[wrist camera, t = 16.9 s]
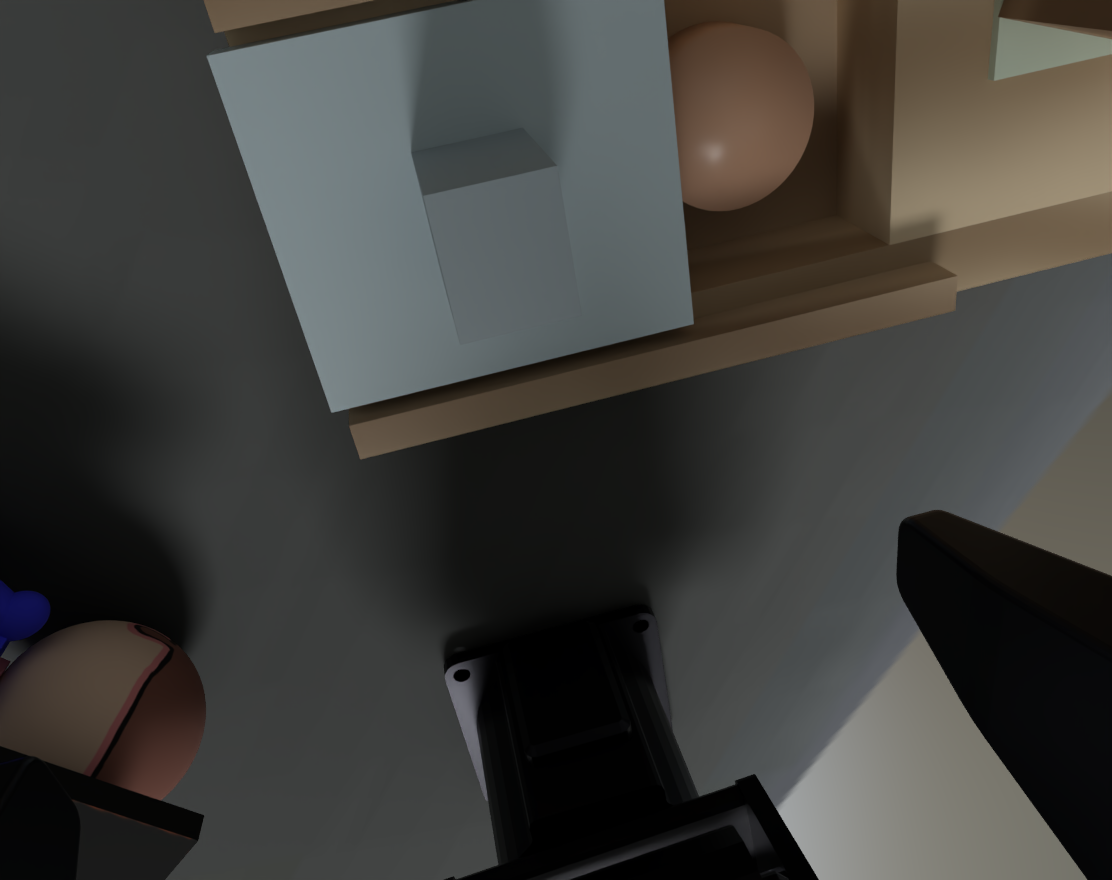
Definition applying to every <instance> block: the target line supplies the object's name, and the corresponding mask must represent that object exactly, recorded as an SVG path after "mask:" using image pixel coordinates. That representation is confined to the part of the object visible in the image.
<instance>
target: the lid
mask: <svg viewBox="0 0 1112 880" xmlns="http://www.w3.org/2000/svg"><path fill="white" fill-rule="evenodd" d="M207 58H208V61H209V64H210V67H211V70H212V73H213V75H214V78H215V81H216V84H217V87H218V90H219V93H220V95H221V98H222V101H223V104H224V107H225V110H226V113H227V115H228V118H229V121H230V124H231V127H232V130H233V133H234V135H235V138H236V141H237V144H238V147H239V150H240V153H241V155H242V158H243V161H244V164H245V167H246V170H247V173H248V175H249V178H250V181H251V184H252V187H253V190H254V192H255V195H256V198H257V201H258V204H259V207H260V210H261V212H262V215H263V218H264V221H265V224H266V227H267V230H268V232H269V235H270V238H271V241H272V244H273V247H274V250H275V252H276V255H277V258H278V261H279V264H280V267H281V270H282V272H283V275H284V278H285V281H286V284H287V287H288V290H289V292H290V295H291V298H292V301H293V304H294V307H295V310H296V312H297V315H298V318H299V321H300V324H301V327H302V330H303V332H304V335H305V338H306V341H307V344H308V347H309V350H310V352H311V355H312V358H313V361H314V364H315V367H316V370H317V372H318V375H319V378H320V381H321V384H322V387H323V390H324V392H325V395H326V398H327V401H328V404H329V407H330V410H331V412H332V413H333V412H337V411H341V410H345V409H349V408H353V407H358V406H362V405H366V404H370V403H374V402H378V401H382V400H386V399H390V398H394V397H398V396H402V395H406V394H411V393H415V392H419V391H423V390H427V389H431V388H435V387H439V386H443V385H447V384H451V383H455V382H460V381H464V380H468V379H472V378H476V377H480V376H484V375H488V374H492V373H496V372H500V371H504V370H508V369H513V368H517V367H521V366H525V365H529V364H533V363H537V362H541V361H545V360H549V359H553V358H557V357H561V356H566V355H570V354H574V353H578V352H582V351H586V350H590V349H594V348H598V347H602V346H606V345H610V344H614V343H619V342H623V341H627V340H631V339H635V338H639V337H643V336H647V335H651V334H655V333H659V332H663V331H668V330H672V329H676V328H680V327H684V326H688V325H692V324H694V320H693V309H692V298H691V287H690V277H689V266H688V255H687V244H686V233H685V223H684V212H683V201H682V190H681V179H680V168H679V158H678V147H677V136H676V125H675V114H674V103H673V93H672V82H671V71H670V60H669V49H668V39H667V28H666V17H665V6H664V0H455V1H450V2H445V3H441V4H436V5H431V6H426V7H421V8H416V9H411V10H407V11H402V12H397V13H392V14H387V15H382V16H378V17H373V18H368V19H363V20H358V21H353V22H348V23H344V24H339V25H334V26H329V27H324V28H319V29H315V30H310V31H305V32H300V33H295V34H290V35H285V36H281V37H276V38H271V39H266V40H261V41H256V42H252V43H247V44H242V45H237V46H232V47H227V48H222V49H218V50H213V51H212V52H211V53H210V54H208V55H207Z"/></svg>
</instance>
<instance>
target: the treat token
mask: <svg viewBox="0 0 1112 880" xmlns="http://www.w3.org/2000/svg"><path fill="white" fill-rule="evenodd" d="M668 49H669V60H670V71H671V82H672V93H673V103H674V114H675V125H676V136H677V147H678V158H679V168H680V179H681V190H682V201H683V202H685V203H687V204H689V205H691V206H694V207H696V208H699V209H704V210H708V211H730V210H735V209H740V208H743V207H746V206H749V205H751V204H753V203H755V202H757V201H759V200H761V199H763V198H764V197H766V196H767V195H769V194H770V193H771V192H773V191H774V190H775V189H776V188H778V187H779V186H780V185H781V184H782V183H783V182H784V181H785V180H786V178H787V177H788V176H789V175H790V174H791V172H792V171H793V170H794V168H795V167H796V165H797V164H798V162H799V160H800V159H801V157H802V155H803V153H804V151H805V148H806V146H807V143H808V140H809V137H810V134H811V130H812V125H813V118H814V95H813V88H812V84H811V79H810V77H809V74H808V71H807V69H806V67H805V65H804V63H803V61H802V59H801V58H800V57H799V55H798V54H797V53H796V51H795V50H794V49H793V48H792V47H791V46H790V45H789V44H788V43H787V42H785V41H784V40H783V39H781V38H780V37H778V36H776V35H774V34H772V33H770V32H768V31H765V30H762V29H758V28H754V27H750V26H745V25H740V24H736V23H731V22H724V21H709V22H703V23H698V24H695V25H692V26H689V27H687V28H685V29H683V30H681V31H678V32H677V33H675V34H674V35H672V36H671V37H669V38H668Z"/></svg>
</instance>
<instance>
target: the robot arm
mask: <svg viewBox="0 0 1112 880" xmlns="http://www.w3.org/2000/svg"><path fill="white" fill-rule="evenodd" d="M896 576H897V585H898V588H899V592H900V594H901V597H902V599H903V601H904V602H905V604H906V606H907V608H908V609H909V611H910V613H911V615H912V616H913V618H914V620H915V622H916V623H917V625H918V627H919V629H920V630H921V632H922V634H923V636H924V637H925V639H926V641H927V642H928V644H929V646H930V648H931V650H932V651H933V653H934V655H935V657H936V658H937V660H938V662H939V664H940V665H941V667H942V669H943V670H944V672H945V674H946V676H947V678H948V679H949V681H950V683H951V685H952V686H953V688H954V690H955V692H956V693H957V695H958V697H959V699H960V700H961V702H962V704H963V705H964V707H965V708H966V710H967V712H968V713H969V715H970V717H971V718H972V720H973V721H974V723H975V724H976V726H977V727H978V729H979V730H980V731H981V733H982V734H983V736H984V737H985V739H986V740H987V742H988V743H989V744H990V746H991V747H992V749H993V750H994V751H995V753H996V754H997V755H998V757H999V758H1000V760H1001V761H1002V762H1003V764H1004V765H1005V766H1006V768H1007V769H1008V770H1009V772H1010V773H1011V775H1012V776H1013V778H1014V779H1015V780H1016V782H1017V783H1018V784H1019V786H1020V787H1021V788H1022V790H1023V791H1024V793H1025V794H1026V795H1027V797H1028V798H1029V800H1030V801H1031V802H1032V804H1033V805H1034V807H1035V808H1036V809H1037V811H1038V812H1039V813H1040V815H1041V816H1042V818H1043V819H1044V820H1045V822H1046V823H1047V824H1048V825H1049V827H1050V829H1051V830H1052V831H1053V833H1054V834H1055V835H1056V837H1057V838H1058V839H1059V841H1060V842H1061V844H1062V845H1063V846H1064V848H1065V849H1066V851H1067V852H1068V853H1069V855H1070V856H1071V858H1072V859H1073V860H1074V862H1075V863H1076V864H1077V866H1078V867H1079V869H1080V870H1081V871H1082V873H1083V874H1084V875H1085V877H1086V878H1087V880H1112V576H1111V575H1108V574H1106V573H1103V572H1100V571H1098V570H1095V569H1093V568H1090V567H1087V566H1085V565H1082V564H1080V563H1077V562H1075V561H1072V560H1069V559H1067V558H1064V557H1062V556H1059V555H1057V554H1054V553H1051V552H1049V551H1046V550H1044V549H1041V548H1038V547H1036V546H1033V545H1031V544H1028V543H1026V542H1023V541H1021V540H1018V539H1015V538H1013V537H1010V536H1008V535H1005V534H1003V533H1000V532H998V531H995V530H992V529H990V528H987V527H985V526H982V525H980V524H977V523H974V522H972V521H969V520H967V519H964V518H962V517H959V516H956V515H954V514H951V513H949V512H946V511H942V510H932V511H929V512H925V513H921V514H918V515H914V516H910V517H907V518H905V519H904V520H903V521H902V522H901V524H900V526H899V532H898V552H897V573H896ZM639 620H643V621H642V622H641V623H638V624H635V622H637V621H639ZM459 669H466V670H465V671H463V672H456V671H457V670H459ZM444 673H445V680H446V683H447V686H448V689H449V692H450V695H451V698H452V701H453V704H454V707H455V710H456V713H457V716H458V719H459V723H460V726H461V729H462V732H463V735H464V738H465V741H466V744H467V747H468V750H469V753H470V756H471V759H472V762H473V765H474V768H475V771H476V774H477V777H478V780H479V783H480V786H481V789H482V792H483V795H484V797H485V799H486V800H487V801H488V802H489V809H490V815H491V821H492V827H493V834H494V840H495V846H496V852H497V858H498V865H497V866H494V867H491V868H488V869H486V870H483V871H480V872H477V873H474V874H471V875H468V876H465V877H462V878H459V879H455V877H454V876H453V877H450V878H448V879H445V880H819V879H818V878H817V876H816V874H815V873H814V871H813V869H812V868H811V866H810V864H809V863H808V861H807V859H806V858H805V856H804V854H803V853H802V851H801V849H800V848H799V846H798V844H797V843H796V841H795V840H794V838H793V836H792V835H791V833H790V831H789V830H788V828H787V826H786V825H785V823H784V822H783V820H782V818H781V816H780V815H779V813H778V811H777V810H776V808H775V806H774V805H773V803H772V801H771V800H770V798H769V796H768V795H767V793H766V791H765V790H764V788H763V787H762V785H761V783H760V782H759V780H758V778H757V777H756V775H755V774H753V775H750V776H747V777H744V778H742V779H739V780H736V781H735V785H732V786H729V787H726V788H724V789H721V790H718V791H715V792H712V793H709V794H706V795H703V796H700V797H699V795H698V793H697V790H696V788H695V785H694V783H693V780H692V778H691V775H690V773H689V771H688V768H687V766H686V763H685V761H684V758H683V756H682V753H681V751H680V748H679V746H678V743H677V741H676V739H675V736H674V734H673V730H672V723H671V716H670V709H669V702H668V695H667V688H666V681H665V674H664V668H663V661H662V654H661V647H660V640H659V633H658V626H657V621H656V619H655V616H654V614H653V612H652V610H651V608H649V607H648V606H646V605H642V604H641V605H634V606H631V607H627V608H623V609H620V610H616V611H612V612H609V613H605V614H601V615H598V616H594V617H590V618H587V619H583V620H579V621H576V622H572V623H568V624H565V625H561V626H557V627H554V628H550V629H546V630H543V631H539V632H535V633H532V634H528V635H524V636H521V637H517V638H513V639H510V640H506V641H502V642H499V643H495V644H491V645H488V646H484V647H480V648H477V649H473V650H469V651H466V652H462V653H458V654H455V655H453V656H451V657H450V658H449V659H447V660H446V662H445V664H444ZM80 831H81V825H80V817H79V813H78V810H77V807H76V805H75V804H74V802H73V801H72V799H71V798H70V796H69V795H68V794H67V792H66V791H65V790H64V788H63V787H62V786H61V784H60V783H59V781H58V780H57V779H56V777H55V776H54V775H53V773H52V772H51V770H50V769H49V768H48V766H47V765H46V764H45V763H44V761H43V760H41V759H39V758H38V757H35V756H26V757H23V758H19V759H15V760H12V761H8V762H4V763H1V764H0V880H76V876H77V865H78V854H79V843H80Z"/></svg>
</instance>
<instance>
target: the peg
mask: <svg viewBox="0 0 1112 880" xmlns="http://www.w3.org/2000/svg"><path fill="white" fill-rule="evenodd" d="M998 17H1000V18H1006V19H1011V20H1016V21H1021V22H1026V23H1031V24H1036V25H1041V26H1046V27H1051V28H1057V29H1062V30H1067V31H1072V32H1077V33H1082V34H1087V35H1092V36H1097V37H1102V38H1108V39H1112V0H1004V1H1003V4H1002V7H1001V9H1000V12H999V15H998Z"/></svg>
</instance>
